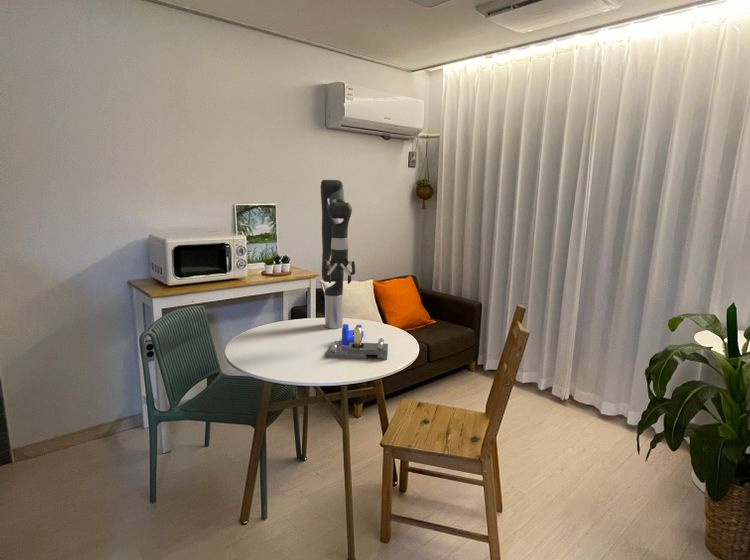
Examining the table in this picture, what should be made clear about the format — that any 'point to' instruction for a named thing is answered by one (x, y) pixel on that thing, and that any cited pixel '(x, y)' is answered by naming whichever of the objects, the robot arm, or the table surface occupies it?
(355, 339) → the pin
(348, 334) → the bracket
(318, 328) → the table surface
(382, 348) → the grey plate with pins
